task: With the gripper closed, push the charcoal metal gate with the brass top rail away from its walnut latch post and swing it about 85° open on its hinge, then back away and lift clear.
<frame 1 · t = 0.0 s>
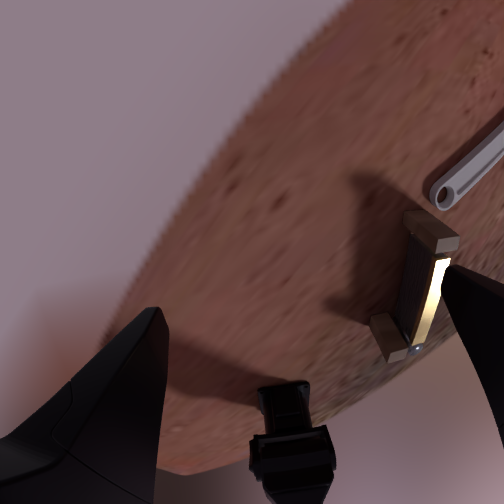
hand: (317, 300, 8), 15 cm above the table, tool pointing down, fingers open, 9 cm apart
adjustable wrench: (498, 126, 19), on the table
gate panel: (417, 298, 24), point 3 cm above the table, hinge at 0.0°
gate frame: (395, 315, 29), on the table
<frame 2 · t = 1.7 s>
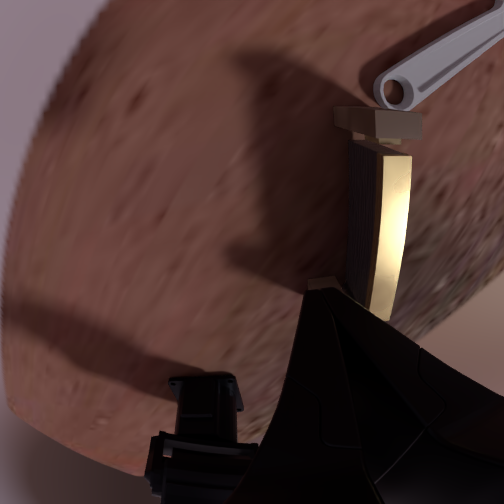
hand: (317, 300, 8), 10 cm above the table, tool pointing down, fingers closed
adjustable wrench: (471, 23, 11), on the table
gate panel: (371, 244, 16), point 3 cm above the table, hinge at 0.0°
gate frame: (349, 282, 21), on the table
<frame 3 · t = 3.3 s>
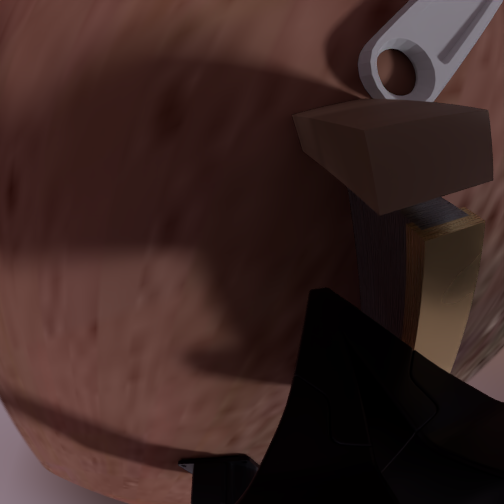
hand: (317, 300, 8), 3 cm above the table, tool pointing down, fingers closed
gate panel: (397, 344, 9), point 3 cm above the table, hinge at -2.3°, touching gripper
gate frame: (370, 361, 14), on the table
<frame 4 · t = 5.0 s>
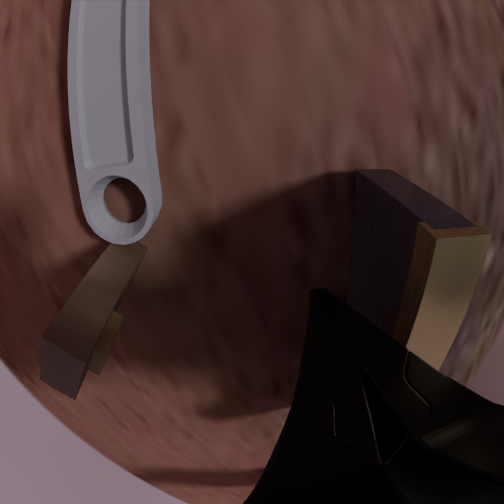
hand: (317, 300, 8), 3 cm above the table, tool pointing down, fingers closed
gate panel: (378, 351, 9), point 3 cm above the table, hinge at -50.8°, touching gripper
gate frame: (342, 368, 14), on the table
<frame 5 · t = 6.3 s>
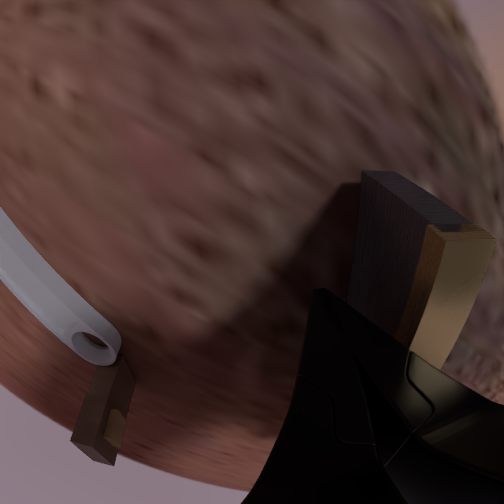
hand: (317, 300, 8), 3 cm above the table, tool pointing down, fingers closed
gate panel: (377, 352, 9), point 3 cm above the table, hinge at -87.7°, touching gripper
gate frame: (338, 369, 14), on the table
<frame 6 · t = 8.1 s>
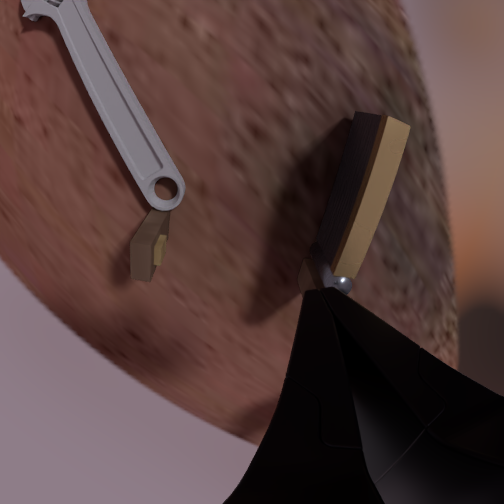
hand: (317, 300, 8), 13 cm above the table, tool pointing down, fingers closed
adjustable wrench: (88, 58, 14), on the table
gate panel: (353, 202, 17), point 3 cm above the table, hinge at -91.3°
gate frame: (317, 246, 22), on the table
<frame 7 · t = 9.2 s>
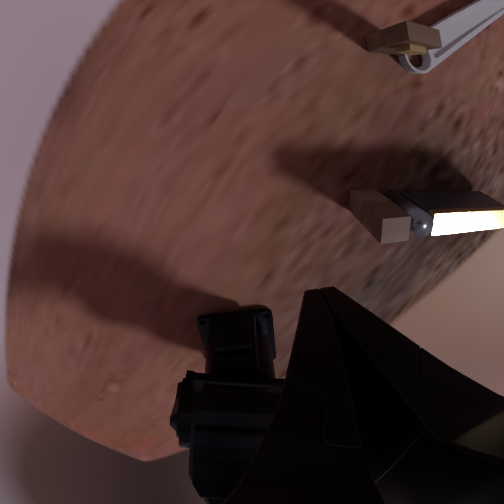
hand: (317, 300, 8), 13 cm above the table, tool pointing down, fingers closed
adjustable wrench: (470, 7, 12), on the table
gate panel: (454, 209, 18), point 3 cm above the table, hinge at -91.3°
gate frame: (387, 197, 20), on the table
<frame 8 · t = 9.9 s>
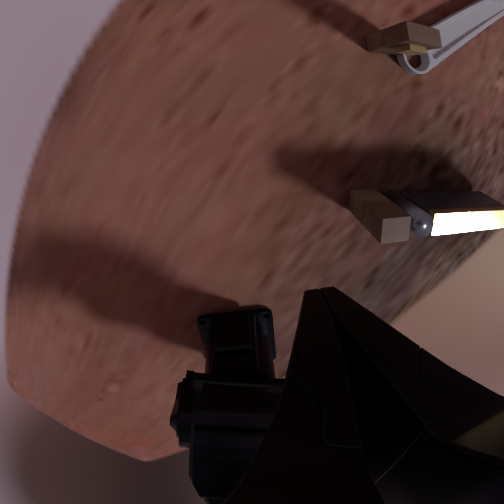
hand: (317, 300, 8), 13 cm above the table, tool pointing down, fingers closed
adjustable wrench: (470, 8, 12), on the table
gate panel: (454, 209, 18), point 3 cm above the table, hinge at -91.3°
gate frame: (387, 197, 20), on the table
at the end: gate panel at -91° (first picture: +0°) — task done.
